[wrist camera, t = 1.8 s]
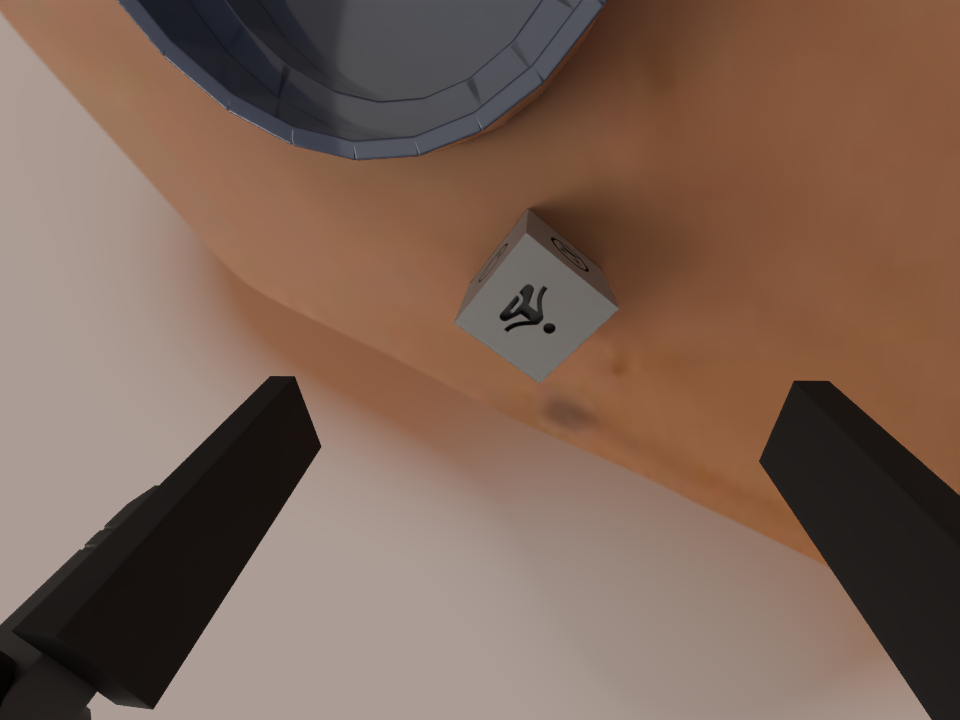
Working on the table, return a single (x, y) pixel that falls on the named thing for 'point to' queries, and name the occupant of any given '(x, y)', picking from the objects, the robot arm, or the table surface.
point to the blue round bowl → (369, 64)
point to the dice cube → (536, 299)
